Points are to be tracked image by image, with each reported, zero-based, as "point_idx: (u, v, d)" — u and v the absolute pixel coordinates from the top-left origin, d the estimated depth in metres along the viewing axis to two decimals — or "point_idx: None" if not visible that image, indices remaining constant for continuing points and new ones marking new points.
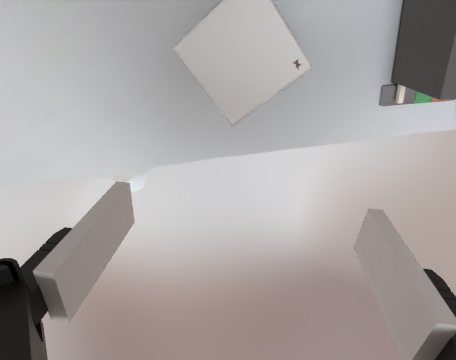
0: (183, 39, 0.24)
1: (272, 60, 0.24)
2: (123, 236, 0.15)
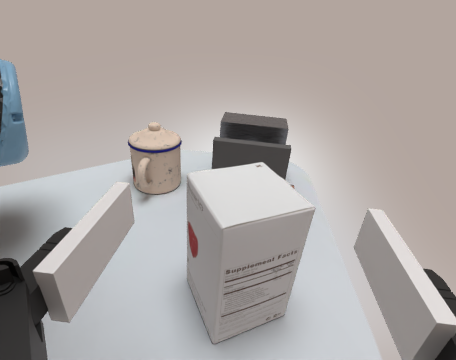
0: (217, 218, 0.21)
1: (253, 174, 0.27)
2: (123, 236, 0.15)
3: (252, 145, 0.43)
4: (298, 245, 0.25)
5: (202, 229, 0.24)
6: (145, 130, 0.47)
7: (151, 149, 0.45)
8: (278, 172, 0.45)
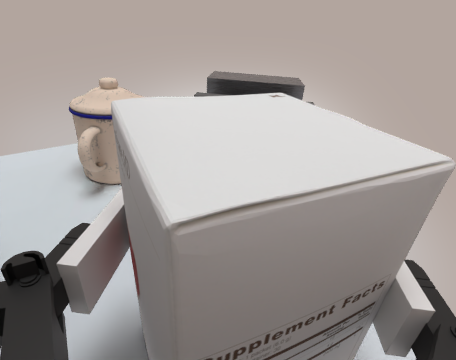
0: (156, 188, 0.06)
1: (267, 104, 0.12)
2: None
3: None
4: (391, 269, 0.10)
5: (135, 232, 0.09)
6: (95, 89, 0.32)
7: (100, 114, 0.30)
8: None
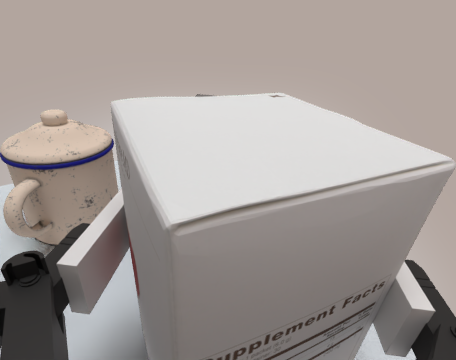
0: (156, 189, 0.06)
1: (267, 104, 0.12)
2: None
3: None
4: (391, 269, 0.10)
5: (135, 233, 0.09)
6: (36, 125, 0.24)
7: (38, 163, 0.22)
8: None
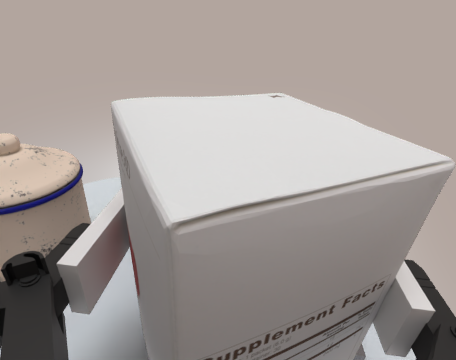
0: (157, 188, 0.06)
1: (267, 104, 0.12)
2: None
3: None
4: (391, 269, 0.10)
5: (135, 232, 0.09)
6: None
7: None
8: None
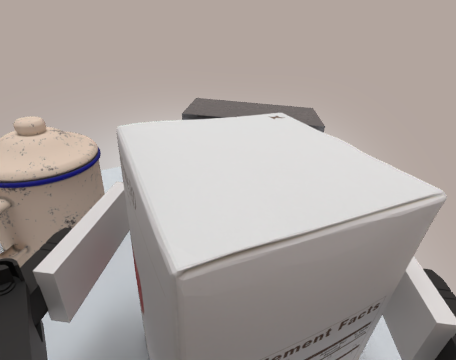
0: (162, 231, 0.06)
1: (267, 128, 0.12)
2: (123, 236, 0.15)
3: None
4: (386, 292, 0.10)
5: (141, 259, 0.09)
6: (9, 135, 0.21)
7: (7, 181, 0.19)
8: None
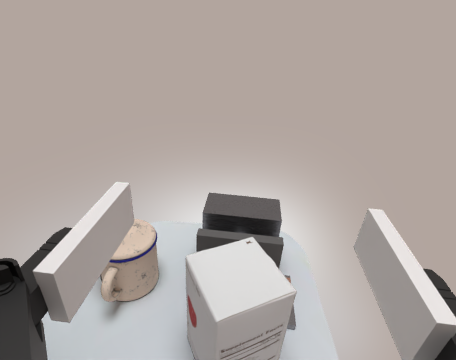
0: (212, 310, 0.25)
1: (244, 253, 0.31)
2: (123, 236, 0.15)
3: None
4: (284, 320, 0.29)
5: (200, 310, 0.28)
6: None
7: (118, 259, 0.38)
8: None
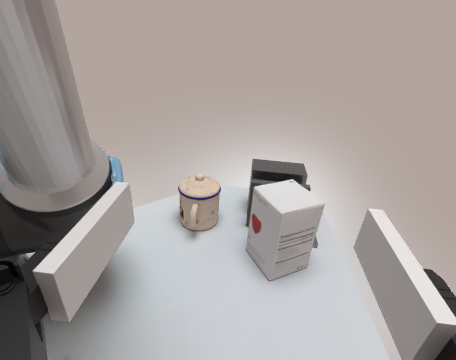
0: (278, 209, 0.44)
1: (289, 186, 0.50)
2: (123, 236, 0.15)
3: None
4: (315, 224, 0.48)
5: (266, 216, 0.47)
6: (193, 180, 0.58)
7: (200, 197, 0.56)
8: None
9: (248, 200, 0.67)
